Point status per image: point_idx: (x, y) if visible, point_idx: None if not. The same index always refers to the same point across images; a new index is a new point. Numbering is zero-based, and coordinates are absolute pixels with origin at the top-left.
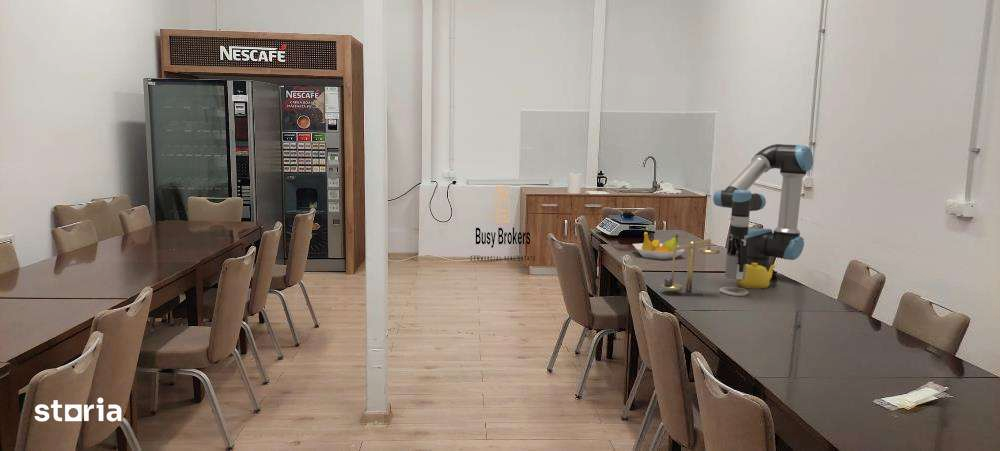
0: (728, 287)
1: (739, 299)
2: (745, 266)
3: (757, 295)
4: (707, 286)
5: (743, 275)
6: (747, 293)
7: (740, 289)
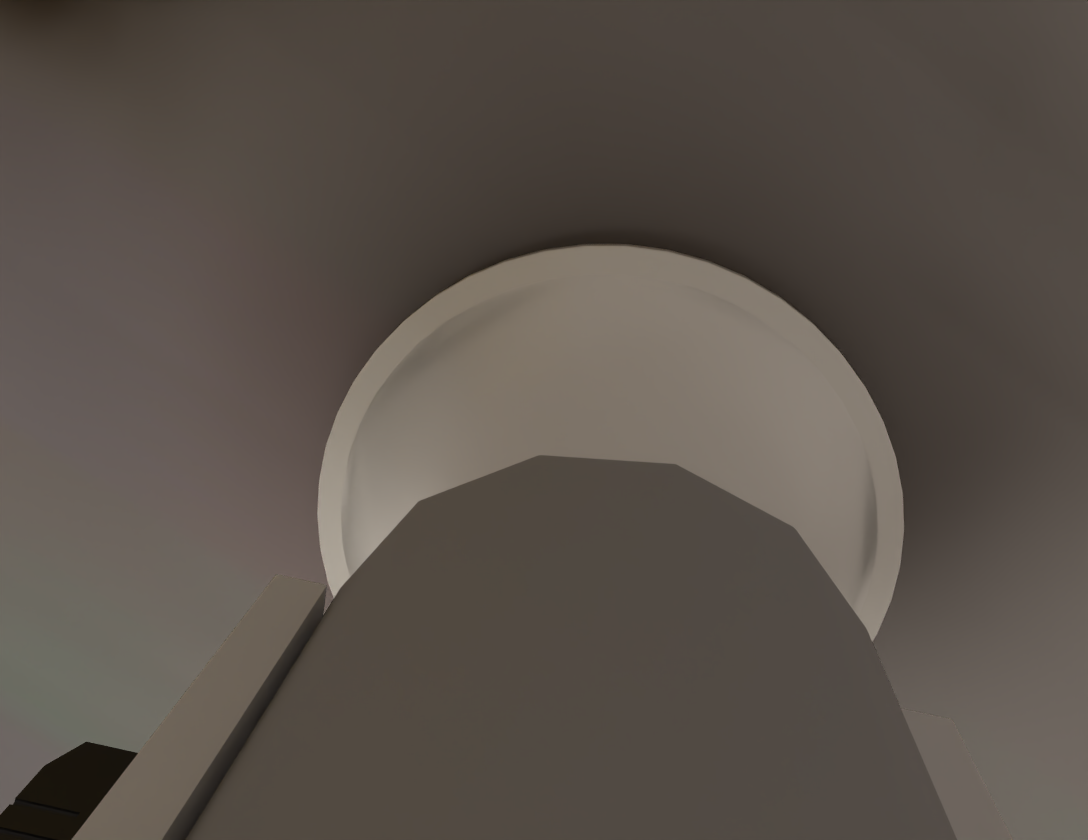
0: (358, 502)
1: (1067, 708)
2: (923, 831)
3: (915, 129)
4: (67, 684)
5: (895, 703)
6: (858, 377)
7: (562, 354)
